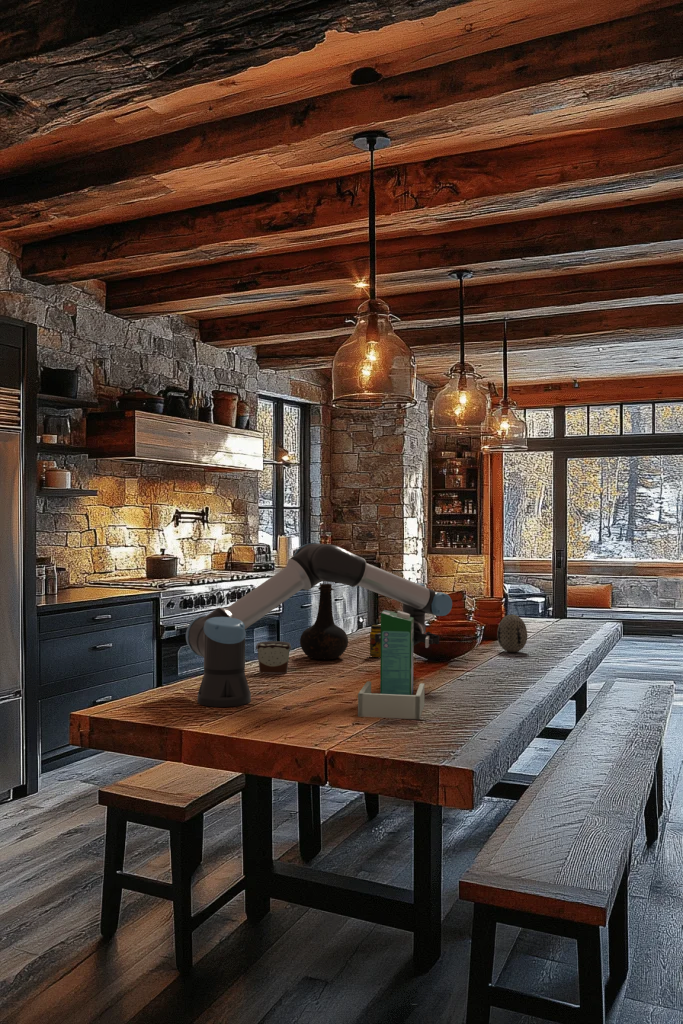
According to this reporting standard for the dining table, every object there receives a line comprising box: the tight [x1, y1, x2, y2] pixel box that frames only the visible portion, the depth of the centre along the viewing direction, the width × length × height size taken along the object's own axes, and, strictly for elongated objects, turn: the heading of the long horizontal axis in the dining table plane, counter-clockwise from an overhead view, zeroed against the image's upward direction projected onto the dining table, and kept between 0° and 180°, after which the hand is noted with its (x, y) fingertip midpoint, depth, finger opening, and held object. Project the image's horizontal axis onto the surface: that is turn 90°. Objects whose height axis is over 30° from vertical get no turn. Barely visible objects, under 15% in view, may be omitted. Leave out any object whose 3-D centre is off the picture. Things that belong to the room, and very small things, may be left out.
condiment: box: [369, 624, 381, 657], centre depth 315 cm, size 7×8×12 cm
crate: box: [357, 680, 425, 720], centre depth 227 cm, size 17×16×6 cm
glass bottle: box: [299, 583, 349, 661], centre depth 311 cm, size 18×18×28 cm
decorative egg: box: [496, 613, 528, 653], centre depth 327 cm, size 12×12×15 cm
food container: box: [255, 640, 292, 674], centre depth 283 cm, size 12×6×10 cm, turn 84°
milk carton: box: [379, 609, 414, 695], centre depth 247 cm, size 9×9×25 cm
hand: (404, 642), depth 253 cm, fingers open, 13 cm apart
